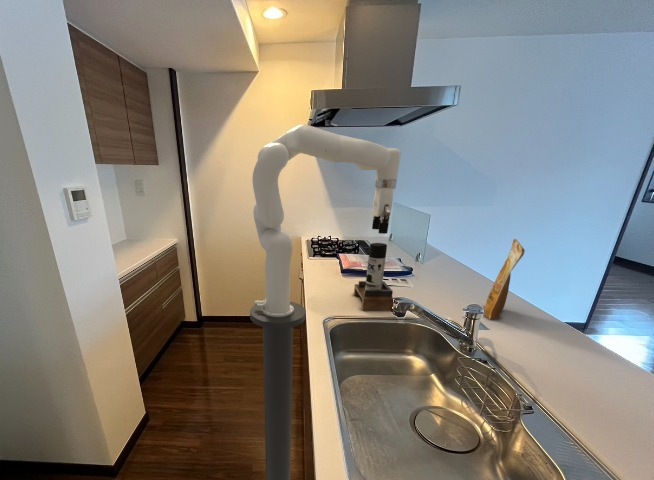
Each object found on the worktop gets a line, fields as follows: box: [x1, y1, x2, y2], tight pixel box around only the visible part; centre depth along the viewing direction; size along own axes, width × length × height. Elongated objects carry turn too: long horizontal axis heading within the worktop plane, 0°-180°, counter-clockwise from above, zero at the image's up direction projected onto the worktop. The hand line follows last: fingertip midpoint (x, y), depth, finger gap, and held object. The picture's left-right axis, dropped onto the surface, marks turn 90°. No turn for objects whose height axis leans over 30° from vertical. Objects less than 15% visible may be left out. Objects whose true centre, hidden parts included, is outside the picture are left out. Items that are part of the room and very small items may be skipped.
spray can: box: [365, 242, 388, 290], centre depth 130 cm, size 7×7×20 cm
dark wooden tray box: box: [353, 280, 395, 312], centre depth 135 cm, size 12×18×7 cm, turn 177°
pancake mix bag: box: [484, 238, 525, 320], centre depth 119 cm, size 7×19×28 cm, turn 145°
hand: (379, 231), depth 125 cm, fingers open, 9 cm apart
